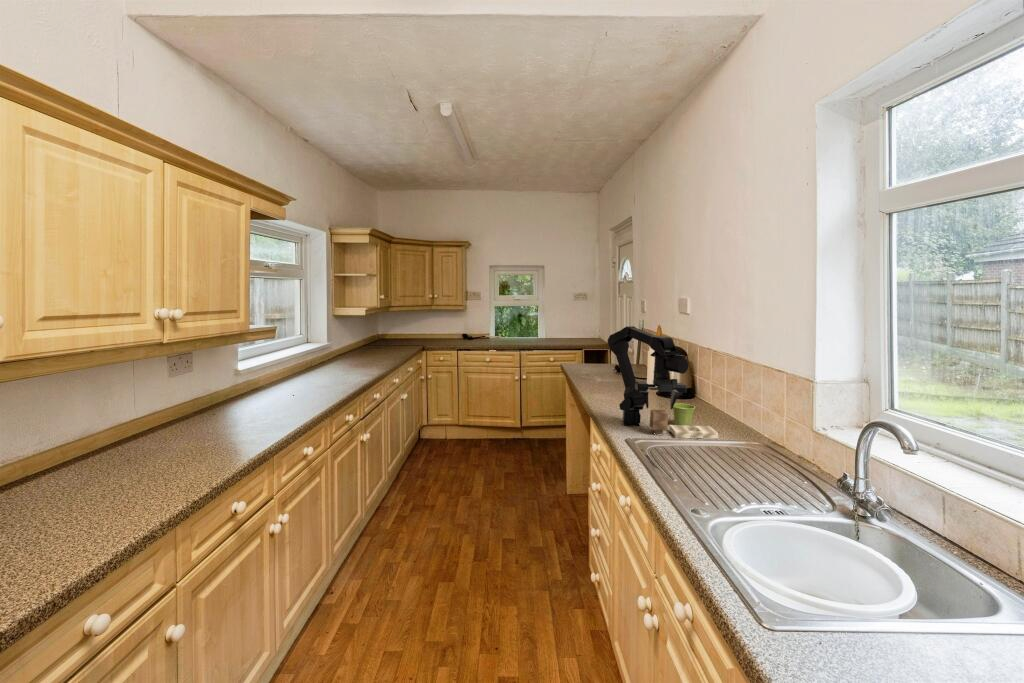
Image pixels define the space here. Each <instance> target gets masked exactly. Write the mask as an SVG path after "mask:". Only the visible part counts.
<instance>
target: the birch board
mask: <svg viewBox="0 0 1024 683" xmlns="http://www.w3.org/2000/svg"><path fill="white" fill-rule="evenodd" d="M668 426H669V428H668V432H671V433H672V434H673V435H674V436H675V437H674V436H673V435H672V434H671V433H670V434H671V435H672V436H673V437H674V439H682V438H684V437H685V438H690V437H694V438H718V439H719V433H718V431H716V430H715V429H714V428H712V427H711V425H710V426H708V425H707V426H704V425H690V426H686V425H674V424H669V425H668Z"/></svg>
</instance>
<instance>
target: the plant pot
mask: <svg viewBox="0 0 1024 683" xmlns="http://www.w3.org/2000/svg"><path fill="white" fill-rule="evenodd" d="M695 409H696V406H695V405H692V404H689V403H688V404H687V403H675V404H674V406H673V408H672V410H673V421H674V422H673V423H674V424H673V425H686V426H691V423H692V420H693V414H694V411H695Z"/></svg>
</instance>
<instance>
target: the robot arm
mask: <svg viewBox="0 0 1024 683" xmlns="http://www.w3.org/2000/svg"><path fill="white" fill-rule="evenodd" d="M633 339H634V340H635V341H639V342H641V343H644V344H645V345H648V346H649V348H650V349H651V350H652V351H653V352H652V353H650V357H654V364H653V367H654V368H653V380H652V384H651V383H648V382H646V381H639V380H638V381H637V380H636V377H635V373H634V370H633V366H632V363H631V360H630V357H629V349H630V348H629V347H630V342H631V341H633ZM607 345H608V347H609V349H610V351H611V352H612V353H613V354H614V355H615V358H616V360H617V364H618V367H619V370H620V375H621V378H622V382H623V385H624V392H623V398H624V399H623V400H622V401H621V402H620V403H619V410H621V411H622V420H621V422H622V425H623V426H627V427H640V426H641V425H640V424H641V418H642V417H641V413H640V410H644V407H646V409H649V391H648V390H657V391H658V392H659V393H663V392H665V393H666V392H667V393H670V394H671V395H670V396H671V397H670V402H669V404H670V407H669V408H670V410H673V406H674V404H676V401H677V399H678V398H679V397H680V396H682V395H683V394H687V392H688V387H687V385H685V383H683V382H678V379H677V378H671V376H670V374H671V372H673V373H676V374H677V373H678V374H682V375H683V374H685V373H687V371H688V369H689V362H688V360H687V358H686V355H685V354H682V355H681V354H679V352H678V349H677V347H676V345H675V343H674V339H673V338H672V337H670V336H665V335H657V334H653V333H650V332H649V331H648V332H647V331H645V330H642V329H640V328H637V327H635V326H633V325H630V326H624V327H623V328H622V329H620V330H618V331H616V332H614V333H612V334H610V335H609V336H608V338H607Z"/></svg>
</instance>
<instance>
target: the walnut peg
mask: <svg viewBox="0 0 1024 683" xmlns="http://www.w3.org/2000/svg"><path fill="white" fill-rule="evenodd" d="M668 419H669V413H668V412H667V411H666V410H665V409H650V418H649V427H650V428H651V430H652V431H653V432H654V433H655V434H663V435H664V431H667V430H668V426H669V425H668V423H669V420H668ZM653 432H652V433H653ZM654 433H653V434H654ZM655 434H654V435H655Z"/></svg>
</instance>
